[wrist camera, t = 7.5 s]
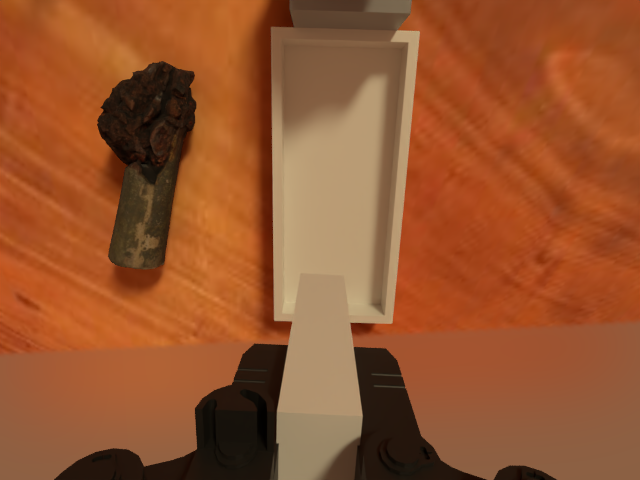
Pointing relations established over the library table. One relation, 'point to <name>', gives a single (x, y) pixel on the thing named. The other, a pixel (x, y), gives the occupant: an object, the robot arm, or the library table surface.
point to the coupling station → (341, 149)
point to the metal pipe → (147, 158)
